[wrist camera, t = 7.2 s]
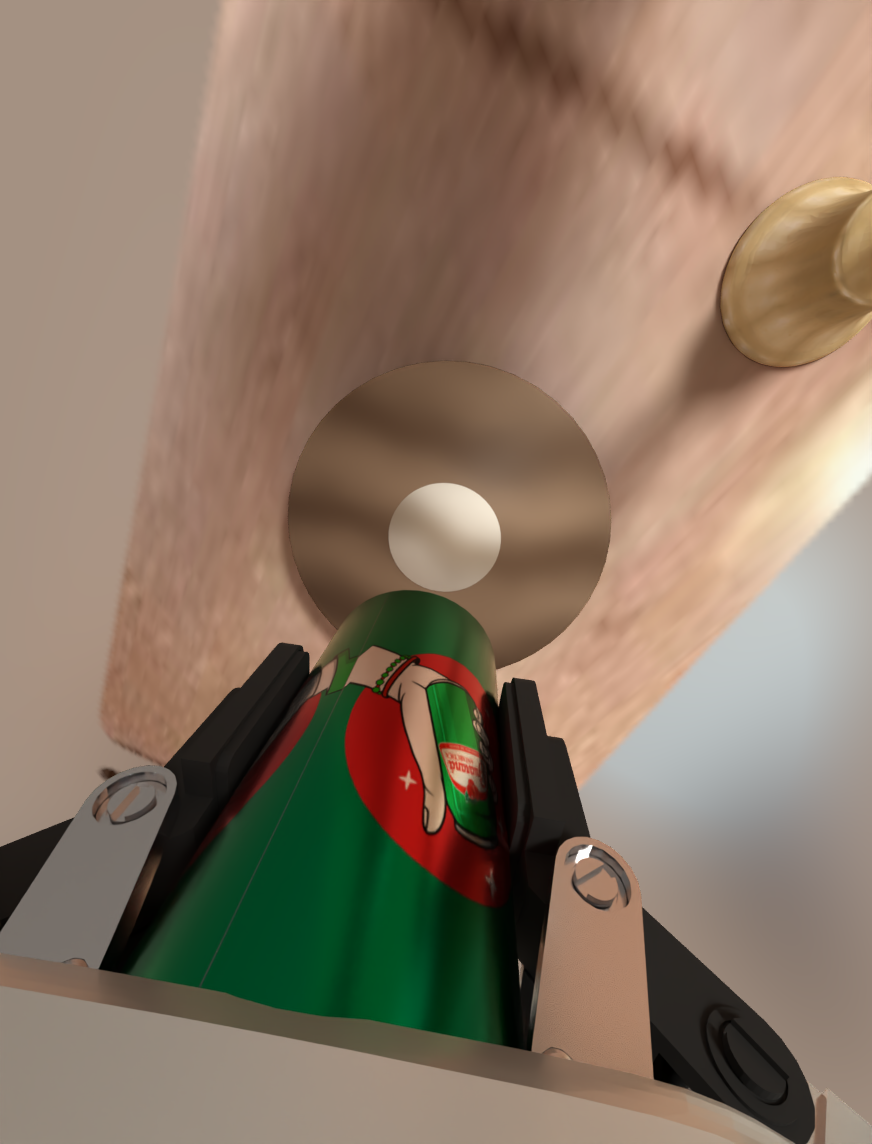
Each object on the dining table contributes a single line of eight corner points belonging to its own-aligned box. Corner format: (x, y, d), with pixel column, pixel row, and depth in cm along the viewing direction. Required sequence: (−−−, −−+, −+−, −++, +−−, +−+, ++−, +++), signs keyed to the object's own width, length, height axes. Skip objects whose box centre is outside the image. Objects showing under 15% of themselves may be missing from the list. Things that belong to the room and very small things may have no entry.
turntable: (296, 344, 24) (284, 339, 23) (644, 386, 23) (656, 384, 22) (298, 642, 31) (289, 653, 30) (563, 682, 31) (568, 695, 29)
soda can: (365, 726, 15) (19, 1712, 4) (317, 598, 13) (-613, 1690, 2) (507, 706, 14) (640, 1917, 3) (475, 566, 12) (471, 2203, 1)
